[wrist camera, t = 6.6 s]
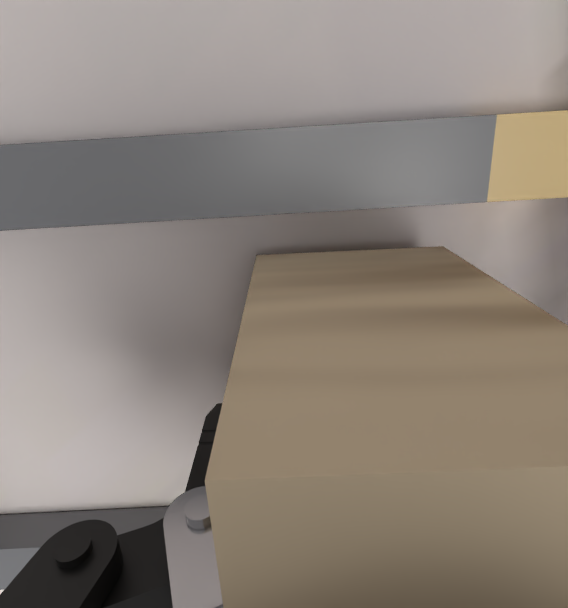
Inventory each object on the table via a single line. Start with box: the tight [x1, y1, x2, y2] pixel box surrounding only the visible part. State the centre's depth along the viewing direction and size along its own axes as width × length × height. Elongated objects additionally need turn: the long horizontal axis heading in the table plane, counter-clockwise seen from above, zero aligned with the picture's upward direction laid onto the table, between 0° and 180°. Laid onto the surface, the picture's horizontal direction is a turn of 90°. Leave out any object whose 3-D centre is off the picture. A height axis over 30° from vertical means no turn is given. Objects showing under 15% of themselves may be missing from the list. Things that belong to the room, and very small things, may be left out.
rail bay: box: [0, 110, 568, 590], centre depth 13 cm, size 15×28×2 cm, turn 93°
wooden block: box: [205, 246, 568, 608], centre depth 9 cm, size 8×5×8 cm, turn 3°
